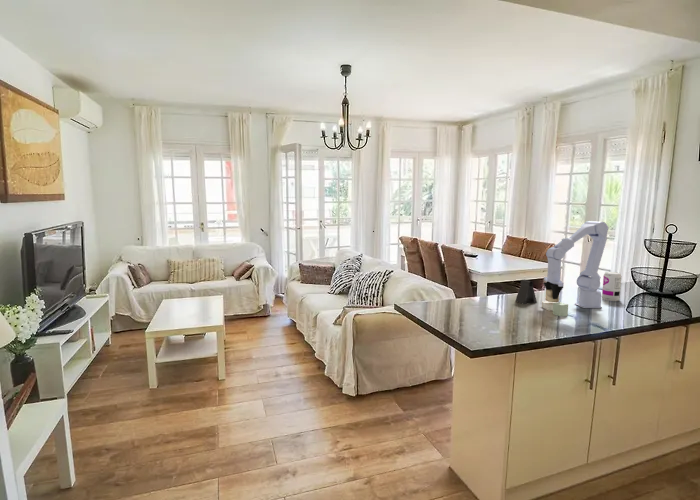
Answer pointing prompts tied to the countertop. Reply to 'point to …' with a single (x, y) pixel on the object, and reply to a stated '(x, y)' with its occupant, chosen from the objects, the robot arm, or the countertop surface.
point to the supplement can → (611, 286)
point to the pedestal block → (548, 305)
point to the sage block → (560, 309)
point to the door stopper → (526, 293)
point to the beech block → (550, 296)
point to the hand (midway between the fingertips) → (552, 297)
